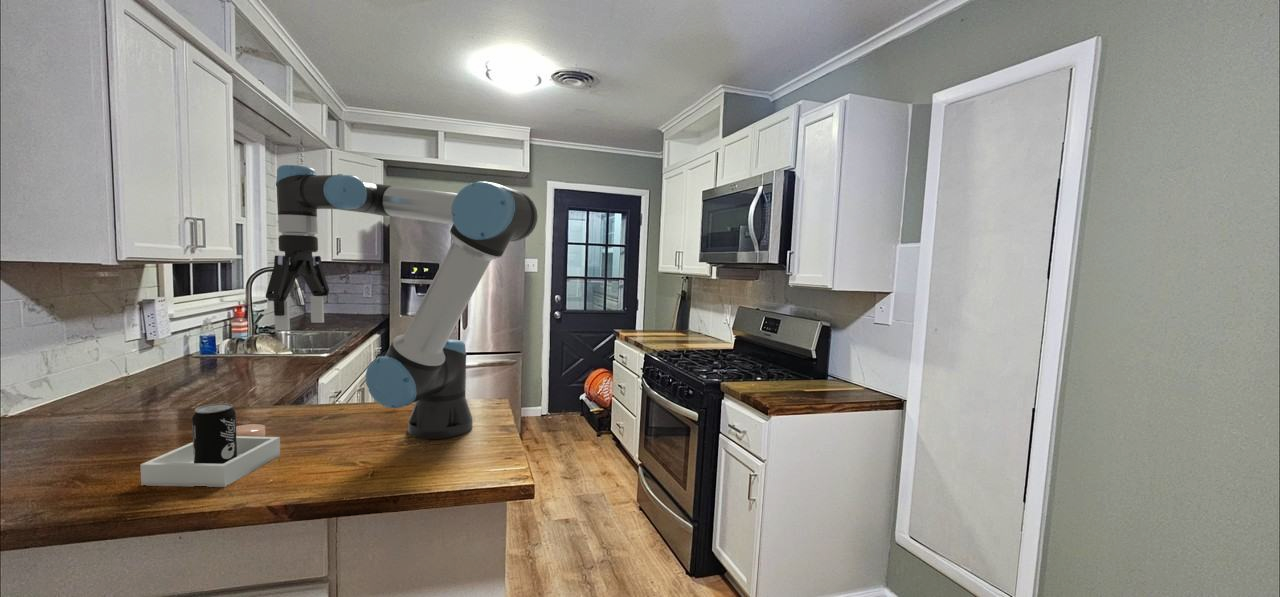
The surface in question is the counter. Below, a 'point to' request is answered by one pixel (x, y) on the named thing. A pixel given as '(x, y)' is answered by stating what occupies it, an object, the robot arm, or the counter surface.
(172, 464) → the white square tray
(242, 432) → the pink shiny round part
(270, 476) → the counter surface
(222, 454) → the beverage can
